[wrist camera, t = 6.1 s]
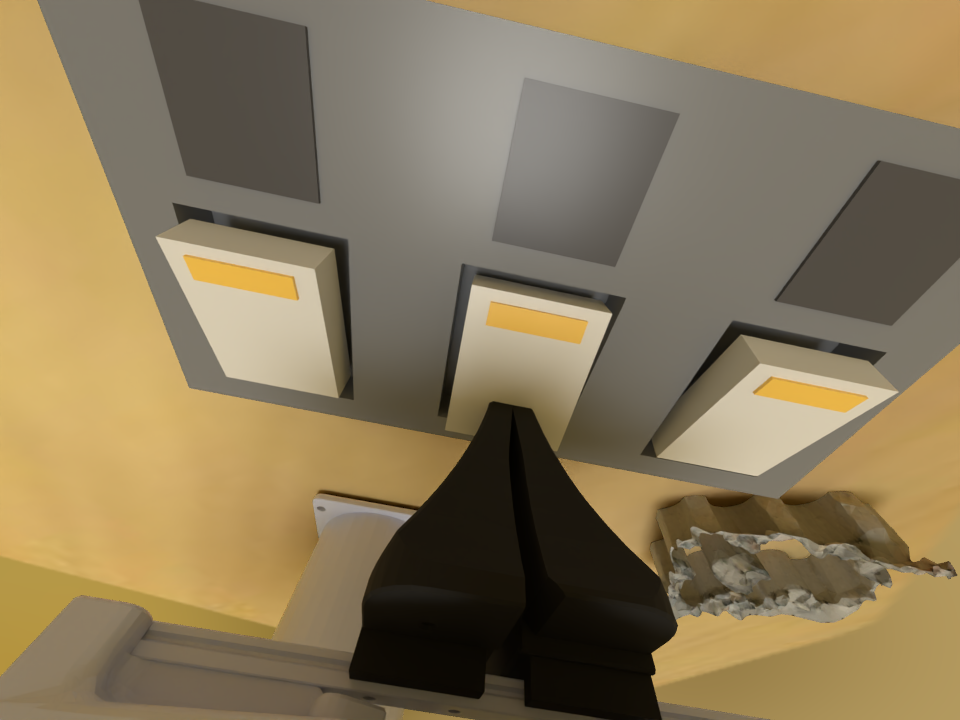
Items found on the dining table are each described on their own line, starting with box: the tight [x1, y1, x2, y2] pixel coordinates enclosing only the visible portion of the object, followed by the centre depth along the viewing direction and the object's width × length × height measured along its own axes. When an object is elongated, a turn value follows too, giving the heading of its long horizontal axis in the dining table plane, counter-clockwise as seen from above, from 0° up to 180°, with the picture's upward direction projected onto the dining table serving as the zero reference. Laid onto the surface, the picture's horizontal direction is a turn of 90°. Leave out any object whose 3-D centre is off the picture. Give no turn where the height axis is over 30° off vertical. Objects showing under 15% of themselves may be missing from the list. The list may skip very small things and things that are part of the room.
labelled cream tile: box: [155, 219, 351, 398], centre depth 11 cm, size 5×4×1 cm
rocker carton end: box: [651, 335, 899, 476], centre depth 11 cm, size 5×4×1 cm
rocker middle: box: [445, 274, 612, 451], centre depth 11 cm, size 5×4×1 cm
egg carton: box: [650, 491, 957, 623], centre depth 18 cm, size 11×8×4 cm
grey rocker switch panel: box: [37, 0, 960, 499], centre depth 11 cm, size 12×24×2 cm, turn 79°
